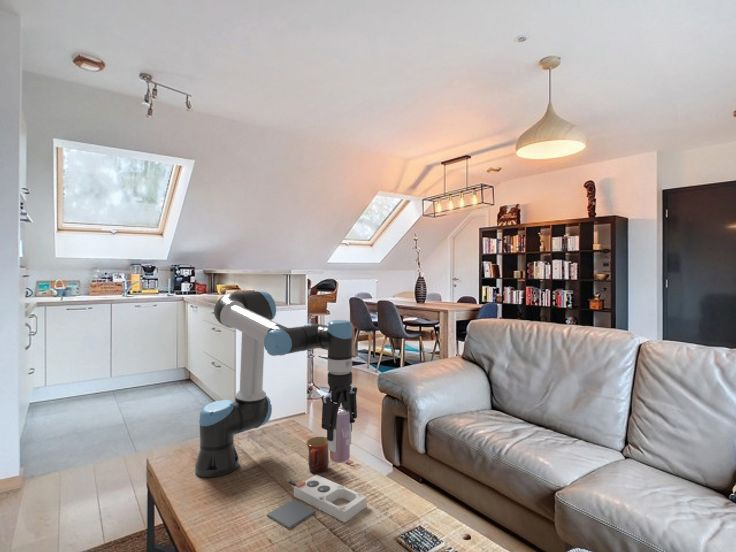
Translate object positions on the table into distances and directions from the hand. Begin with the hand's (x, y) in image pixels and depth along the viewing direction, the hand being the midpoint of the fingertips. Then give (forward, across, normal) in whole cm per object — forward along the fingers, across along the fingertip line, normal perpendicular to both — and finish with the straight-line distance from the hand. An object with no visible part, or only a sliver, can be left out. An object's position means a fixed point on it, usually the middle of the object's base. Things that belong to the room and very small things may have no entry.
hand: (339, 446), depth 125 cm
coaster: (+19, -12, +8) cm, 24 cm away
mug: (+19, +11, +21) cm, 31 cm away
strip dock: (+19, 0, +8) cm, 20 cm away
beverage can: (+4, 0, 0) cm, 4 cm away
